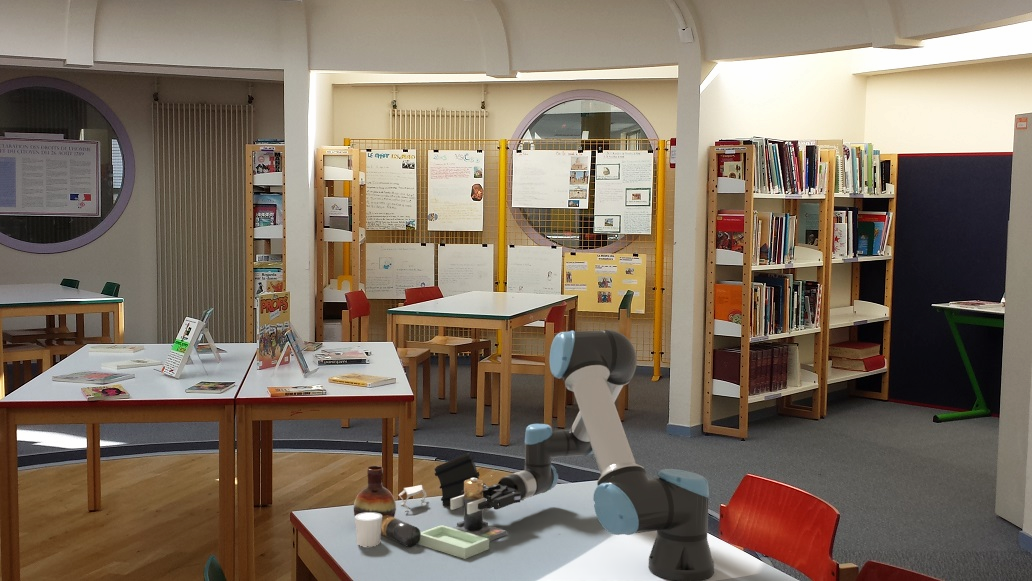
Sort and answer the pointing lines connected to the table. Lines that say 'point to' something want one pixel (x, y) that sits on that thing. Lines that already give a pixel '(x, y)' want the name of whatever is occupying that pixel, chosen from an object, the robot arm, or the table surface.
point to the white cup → (368, 528)
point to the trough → (453, 541)
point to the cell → (472, 493)
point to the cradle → (483, 531)
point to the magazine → (455, 476)
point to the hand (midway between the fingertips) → (459, 506)
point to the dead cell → (400, 531)
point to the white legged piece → (412, 493)
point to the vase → (375, 495)
